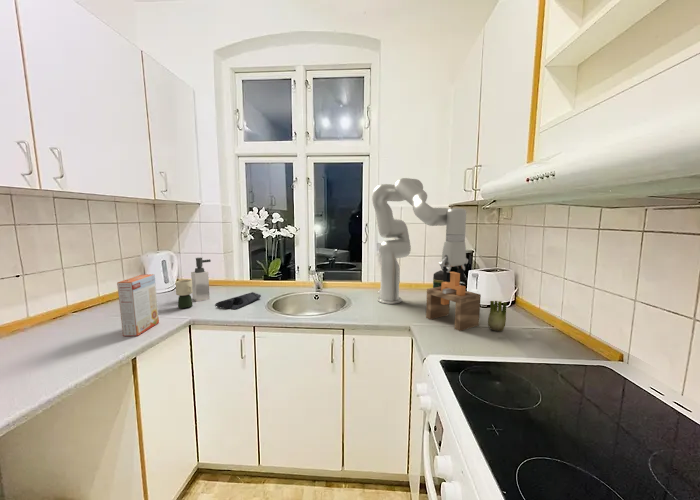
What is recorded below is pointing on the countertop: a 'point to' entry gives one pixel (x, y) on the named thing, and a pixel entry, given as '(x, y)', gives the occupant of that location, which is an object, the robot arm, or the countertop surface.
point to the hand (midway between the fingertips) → (453, 280)
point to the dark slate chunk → (238, 301)
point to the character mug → (184, 293)
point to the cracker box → (138, 304)
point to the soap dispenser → (200, 282)
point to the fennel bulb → (497, 316)
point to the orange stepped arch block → (453, 286)
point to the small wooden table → (464, 310)
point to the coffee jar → (438, 279)
